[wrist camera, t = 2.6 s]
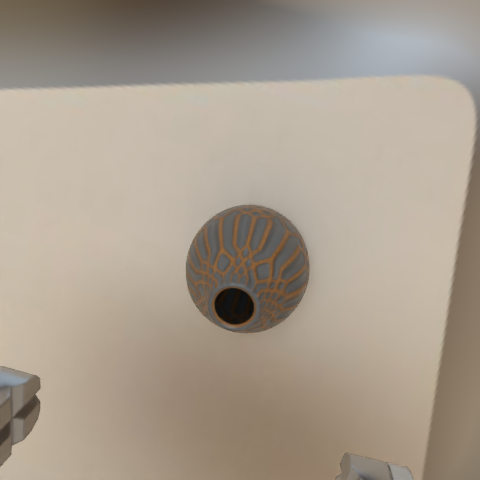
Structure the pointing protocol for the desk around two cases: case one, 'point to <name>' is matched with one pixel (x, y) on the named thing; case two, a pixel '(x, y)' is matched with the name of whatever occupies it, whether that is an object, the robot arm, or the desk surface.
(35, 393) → the robot arm
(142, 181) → the desk surface
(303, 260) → the vase
